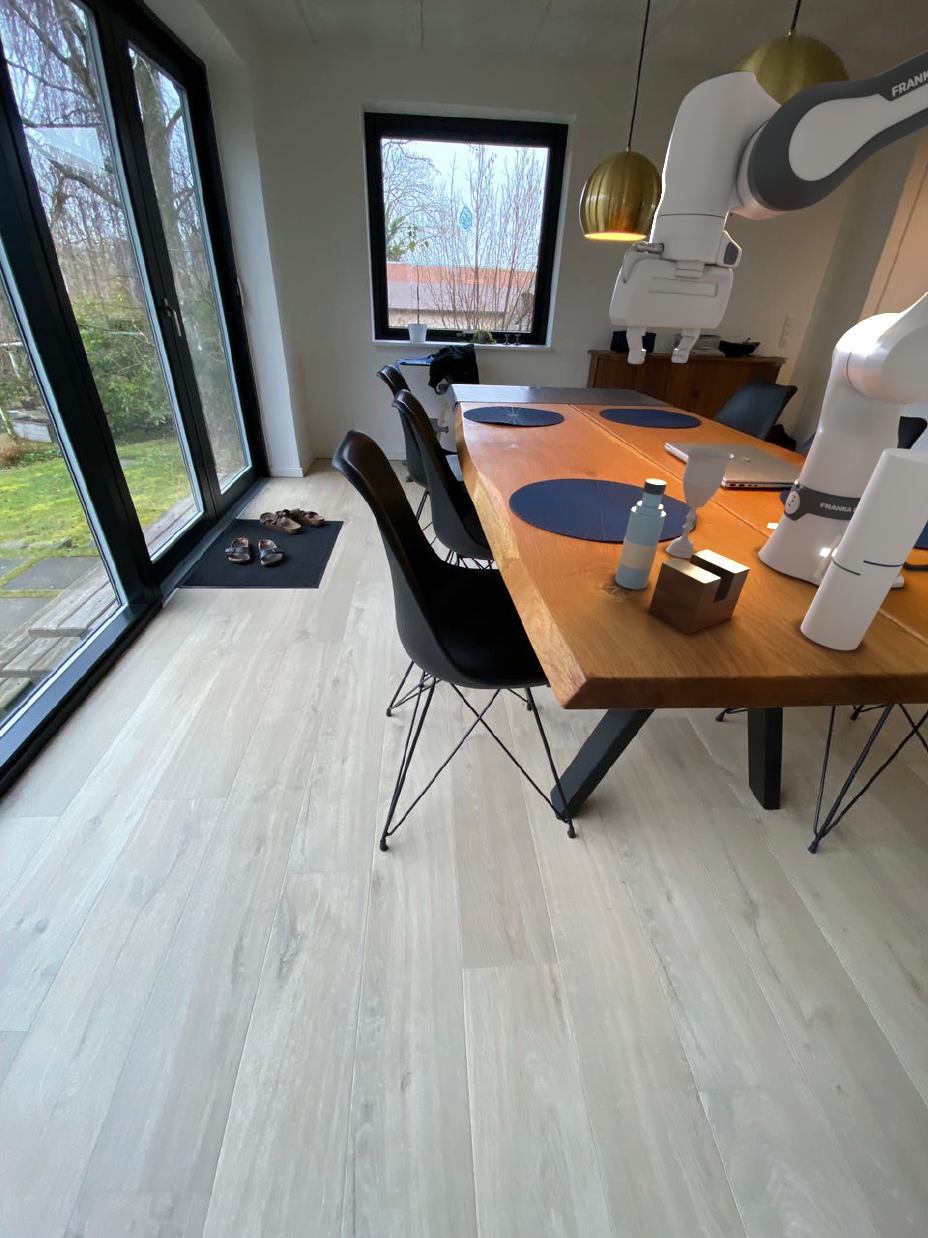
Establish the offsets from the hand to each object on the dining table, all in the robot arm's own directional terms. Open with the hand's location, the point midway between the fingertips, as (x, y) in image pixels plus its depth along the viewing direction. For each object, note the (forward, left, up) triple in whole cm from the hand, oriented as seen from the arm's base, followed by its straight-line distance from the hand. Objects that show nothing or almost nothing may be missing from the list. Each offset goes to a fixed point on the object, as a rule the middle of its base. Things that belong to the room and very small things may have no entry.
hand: (657, 362), depth 76 cm
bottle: (-4, +14, -28) cm, 32 cm away
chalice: (-13, -4, -31) cm, 34 cm away
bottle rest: (-7, +19, -31) cm, 37 cm away
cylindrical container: (-26, +22, -31) cm, 46 cm away
